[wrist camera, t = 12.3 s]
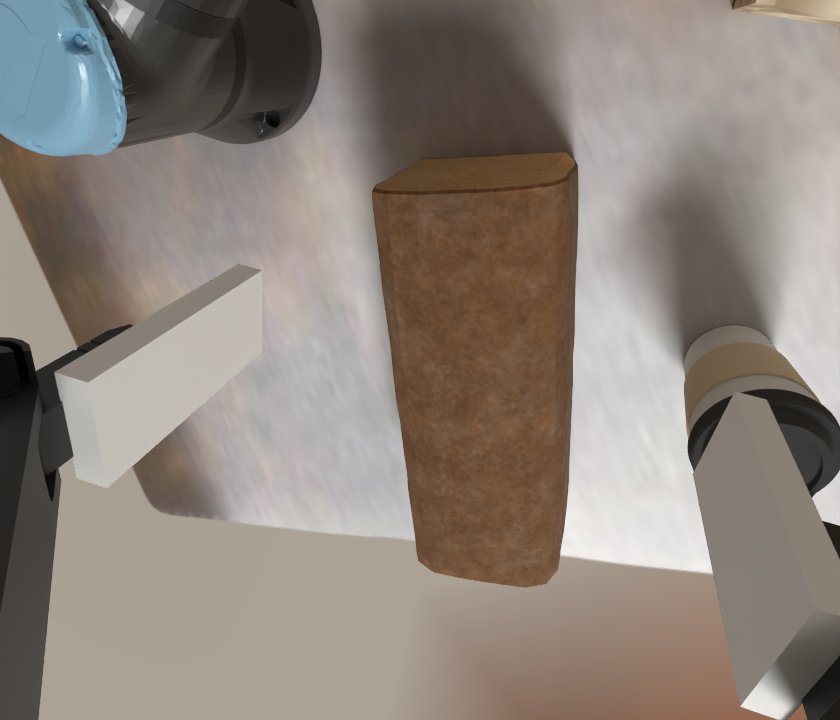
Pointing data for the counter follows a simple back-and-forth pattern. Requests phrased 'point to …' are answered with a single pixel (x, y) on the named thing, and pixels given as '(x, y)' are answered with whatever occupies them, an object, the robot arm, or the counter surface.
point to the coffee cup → (764, 378)
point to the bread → (483, 355)
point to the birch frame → (794, 9)
